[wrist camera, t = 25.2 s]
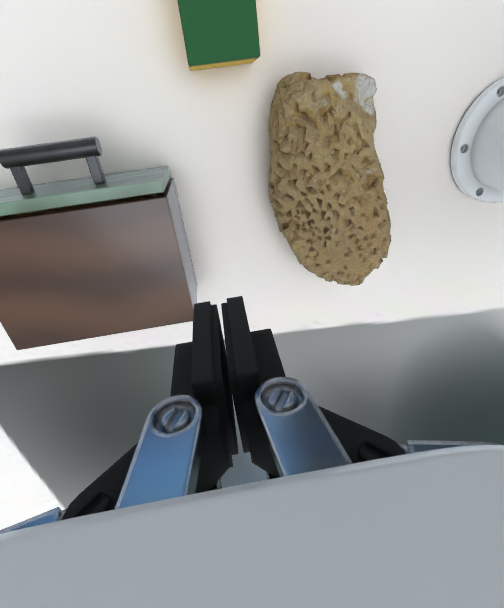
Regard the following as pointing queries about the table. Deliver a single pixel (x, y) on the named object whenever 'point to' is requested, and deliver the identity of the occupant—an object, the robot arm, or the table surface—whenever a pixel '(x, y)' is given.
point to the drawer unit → (95, 271)
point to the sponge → (328, 175)
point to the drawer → (72, 191)
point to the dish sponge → (219, 32)
